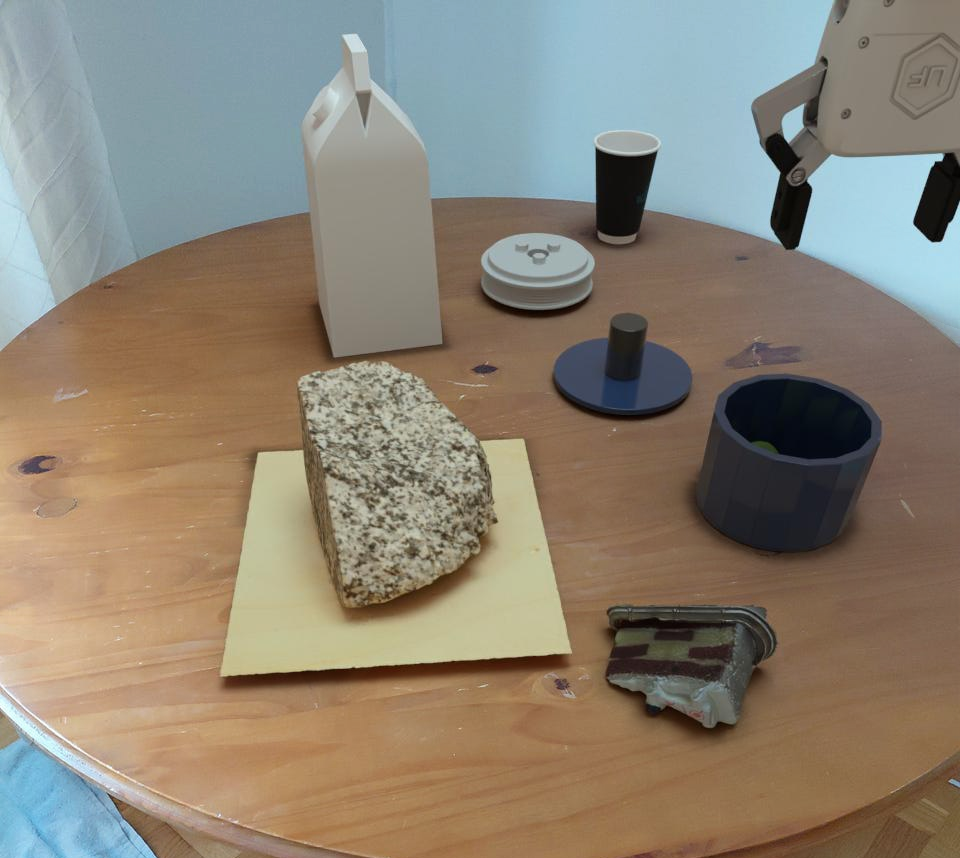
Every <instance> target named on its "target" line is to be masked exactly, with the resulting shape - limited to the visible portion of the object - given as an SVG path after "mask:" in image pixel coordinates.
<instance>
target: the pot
mask: <svg viewBox="0 0 960 858" xmlns="http://www.w3.org/2000/svg"><path fill="white" fill-rule="evenodd" d="M882 436H883V421H882V420H881V418H880V417H879V415H878V414H877V412H876V411H875V409H874V407H873V406H872V405H871V404H870V403H869V402H867V401H866V400H865V399H863V398H861V397H860V396H859V395H857V394H855V393H854V392H852V390H850V389H848V388H847V387H843V386H840V385H838V384H835V383H832V382H829V381H827V380H824V379H822V378H817V377H811V376H805V375H798V374H793V373H767V374H758V375H753V376H750V377H746V378H744V379H741V380H737V381H734V382H732V383H731V384H729V386H727V387H726V388H724V390H722V392H720V393H719V394H718V395H717V398H716V402H715V406H714V410H713V414H712V418H711V424H710V428H709V432H708V436H707V441H706V445H705V451H704V454H703V459H702V464H701V468H700V471H699V477H698V481H697V486H696V490H695V495H696V496H695V497H696V503H697V506H698V509H699V510H700V512H701V514H702V515H703V517H704V518H705V520H707V521H708V523H710V525H711V526H712V527H713V528H715V529H716V531H717V530H718V532H720V533H722V534H723V535H725V536H726V537H729V538H730V539H732V540H734V541H737V542H738V543H741V544H744V545H746V546H750V547H752V548H756V549H760V550H765V551H771V552H778V553H779V552H780V553H797V552H805V551H806V552H807V551H811V550H816V549H818V548H822V547H824V546H826V545H829V544H830V543H832V542H833V541H835V540H837V539H838V538H839V537H840V536H841V535H842V534H843V532H844V531H845V529H846V527H847V525H849V523H850V522H851V520H852V517H853V514H854V512H855V509H856V507H857V504H858V501H859V499H860V497H861V493H862V491H863V489H864V486H865V484H866V481H867V479H868V476H869V474H870V471H871V468H872V466H873V463H874V461H875V459H876V456H877V453H878V450H879V447H880V446H881V443H882V438H883V437H882ZM755 441H763V442H767V443H769V444H771V445H772V446H774V447H775V449H776V450H777V451H778V453H779V454H776V453H773V452H771V451H768V450H766V449H764V448H761V447H759V446H757V445H754V444H752V442H755Z"/></svg>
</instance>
